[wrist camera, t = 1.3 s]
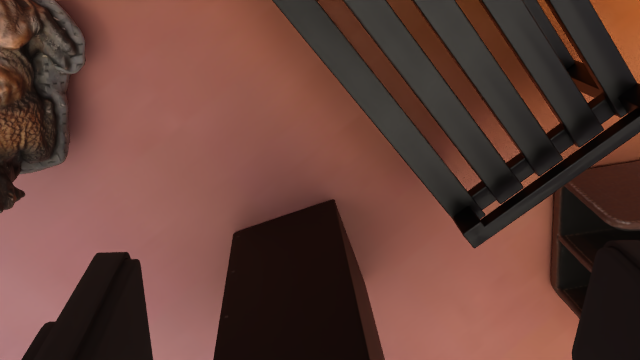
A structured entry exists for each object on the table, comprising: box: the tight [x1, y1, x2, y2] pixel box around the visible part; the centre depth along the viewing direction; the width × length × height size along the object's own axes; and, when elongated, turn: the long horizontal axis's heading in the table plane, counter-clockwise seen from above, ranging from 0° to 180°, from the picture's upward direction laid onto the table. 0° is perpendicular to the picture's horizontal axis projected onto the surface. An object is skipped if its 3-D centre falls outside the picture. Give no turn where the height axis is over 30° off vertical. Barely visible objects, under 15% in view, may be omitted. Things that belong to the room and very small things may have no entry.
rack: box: [272, 0, 640, 248], centre depth 30 cm, size 18×12×10 cm, turn 39°
